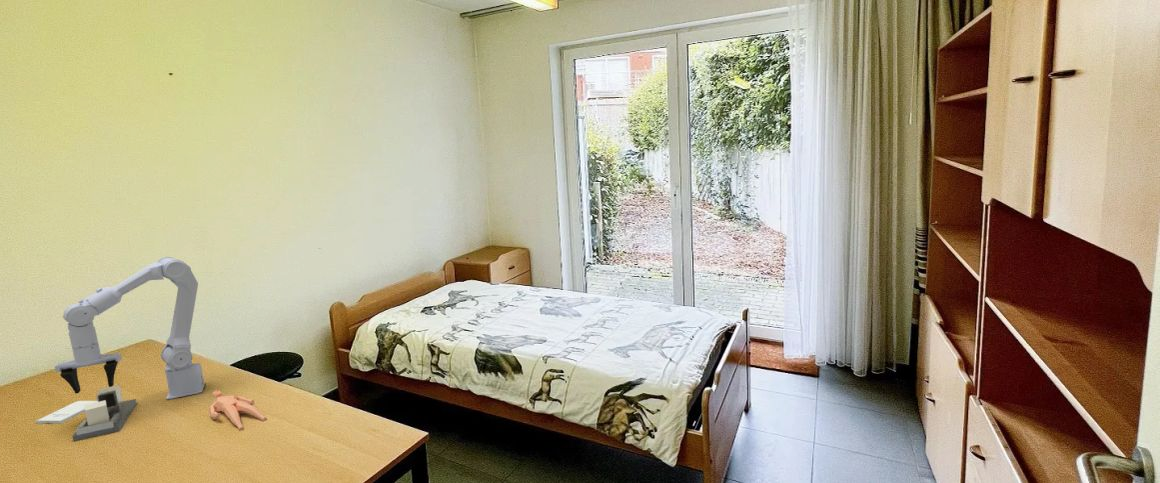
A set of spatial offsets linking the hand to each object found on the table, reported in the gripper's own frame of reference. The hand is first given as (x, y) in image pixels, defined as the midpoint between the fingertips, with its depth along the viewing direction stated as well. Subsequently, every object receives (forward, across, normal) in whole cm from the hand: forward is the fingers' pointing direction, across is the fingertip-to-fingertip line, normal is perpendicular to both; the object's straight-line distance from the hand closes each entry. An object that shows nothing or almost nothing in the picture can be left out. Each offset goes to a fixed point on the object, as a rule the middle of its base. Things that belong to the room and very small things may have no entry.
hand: (94, 388), depth 162 cm
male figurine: (+10, -35, +20) cm, 42 cm away
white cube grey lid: (+8, -2, +9) cm, 12 cm away
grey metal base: (+9, -2, +3) cm, 10 cm away
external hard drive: (+10, +10, -11) cm, 18 cm away
